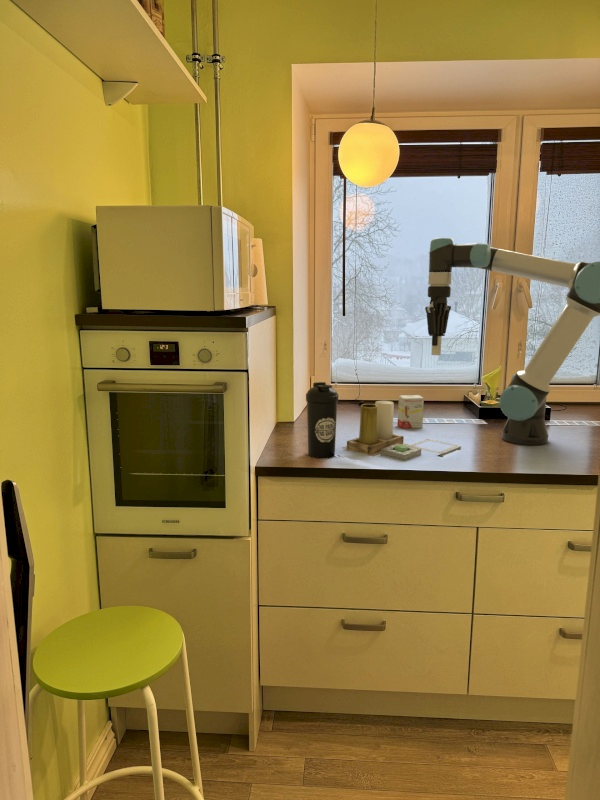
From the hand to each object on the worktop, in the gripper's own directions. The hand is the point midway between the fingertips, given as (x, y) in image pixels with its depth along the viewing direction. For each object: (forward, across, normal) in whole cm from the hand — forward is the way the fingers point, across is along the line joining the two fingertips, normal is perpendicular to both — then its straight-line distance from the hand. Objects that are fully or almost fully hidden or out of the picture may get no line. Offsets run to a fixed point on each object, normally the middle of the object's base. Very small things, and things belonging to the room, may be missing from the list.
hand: (435, 354), depth 204 cm
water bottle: (+30, +44, -13) cm, 55 cm away
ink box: (+30, -7, -14) cm, 34 cm away
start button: (+28, +29, +7) cm, 41 cm away
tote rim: (+29, +13, +9) cm, 33 cm away
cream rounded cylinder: (+28, +23, -4) cm, 36 cm away
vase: (+28, +31, -4) cm, 42 cm away
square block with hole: (+29, +29, +7) cm, 42 cm away
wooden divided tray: (+29, +27, -4) cm, 40 cm away
